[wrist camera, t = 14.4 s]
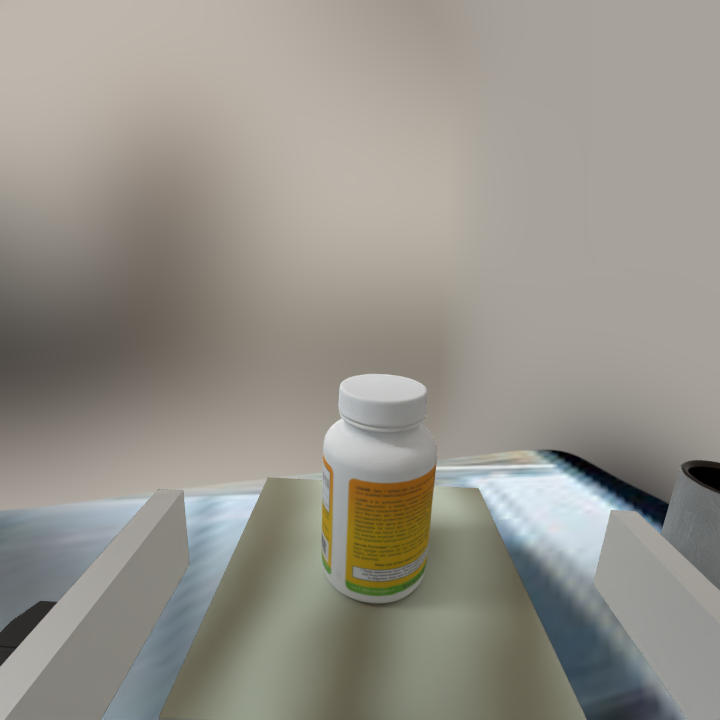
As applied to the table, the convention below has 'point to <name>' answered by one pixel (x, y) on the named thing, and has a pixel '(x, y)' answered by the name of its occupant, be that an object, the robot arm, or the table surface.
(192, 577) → the table surface
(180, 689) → the podium
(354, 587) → the supplement bottle
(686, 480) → the grey hollow cylinder
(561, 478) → the table surface
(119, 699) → the table surface
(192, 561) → the table surface
